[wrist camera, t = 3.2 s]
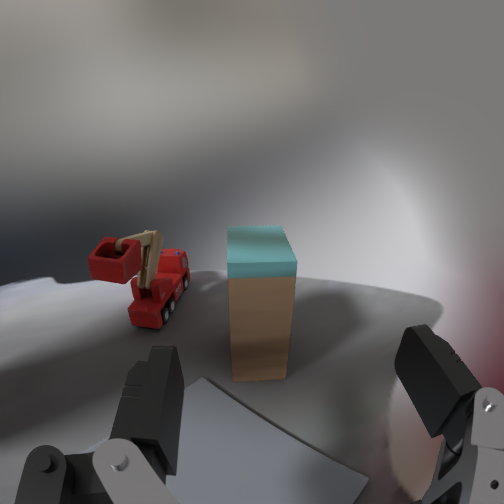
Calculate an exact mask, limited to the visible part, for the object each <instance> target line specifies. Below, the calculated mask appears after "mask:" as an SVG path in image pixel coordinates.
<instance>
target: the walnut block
mask: <svg viewBox="0 0 504 504" xmlns="http://www.w3.org/2000/svg"><path fill="white" fill-rule="evenodd" d="M227 240H228V242H227V244H228V245H227V248H228V249H227V267H228V296H229V320H230V341H231V361H232V379H233V382H243V381H264V380H279V379H286V371H287V363H288V354H289V345H290V336H291V326H292V316H293V306H294V295H295V283H296V271H297V260H296V257H295V255H294V253H293V251H292V248H291V246H290V244H289V242H288V240H287V238H286V235H285V233H284V231H283V229H282V227H281V226H240V227H228V239H227Z"/></svg>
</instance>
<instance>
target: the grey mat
mask: <svg viewBox="0 0 504 504" xmlns="http://www.w3.org/2000/svg"><path fill="white" fill-rule="evenodd" d="M109 437H110V436H108V437H106V438H104V439H103V440H101V441H99V442H97V443H96V444H94V445H92V446H90V447H88V448H87V449H85V450H83V451H81V452H79V453H78V454H82V453H89V452H93V451H95V450H96V449H97V447H98V446H99V445H100V444H102V443H103V442H105V441H107V440H108V439H109ZM369 479H370V478H368V477H366V476H364V475H362V474H360V473H358V472H356V471H354V470H352V469H350V468H347V467H345V466H344V465H342V464H340V463H338V462H336V461H334V460H332V459H330V458H328V457H326V456H324V455H322V454H321V453H319V452H317V451H315V450H313V449H312V448H310V447H308V446H306V445H304V444H303V443H301V442H299V441H298V440H296V439H294V438H292V437H291V436H289V435H287V434H286V433H284V432H283V431H281V430H279V429H278V428H276V427H274V426H273V425H271V424H270V423H268V422H267V421H265V420H263V419H262V418H260V417H259V416H257V415H256V414H254V413H253V412H251V411H250V410H248V409H247V408H245V407H244V406H242V405H241V404H239V403H238V402H237V401H235V400H234V399H232V398H231V397H229V396H228V395H227V394H225V393H224V392H222V391H221V390H220V389H218V388H217V387H215V386H214V385H213V384H211V383H210V382H209V381H207V380H206V379H205V378H203V377H201V378H200V379H198V380H197V381H195V382H194V383H192V384H191V385H189V386H188V387H186V388H185V389H184V399H183V408H182V418H181V428H180V438H179V449H178V460H177V473H176V476H172V475H166V485H165V486H166V487H167V489H168V490H169V491H170V493H171V494H172V495H173V496H174V498H175V499H176V500H177V501H178V502H179V504H353V503H354V501H355V500H356V498H357V497H358V495H359V494H360V493H361V491H362V490H363V488H364V487H365V485H366V484H367V482H368V481H369Z"/></svg>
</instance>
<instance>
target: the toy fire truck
mask: <svg viewBox="0 0 504 504" xmlns="http://www.w3.org/2000/svg"><path fill="white" fill-rule="evenodd" d="M162 243H163V236H162V235H161V234H160V233H159V232H158V231H148V230H145V231H144V233H140V234H137V235H133V236H129V237H125V238H122V239H118V238H113V237H105V238H104V239H103V240H102V241H101V242H100V243H99V244H98V245H97V247H96V248H95V249H94V250H93V251H92V253H91V254H90V255H89V257H88V265H89V271H90V277H91V279H94V280H101V281H108V282H113V283H120V284H126V283H127V282H128V281H129V280H130V279H132V277H133V276H135V275H136V274H137V273H138V277H135V278H133V279H132V280H131V288H132V293H133V297H134V299H135V300H134V301H133V302H132V304H131V305H130V306H129V307H128V312H129V317H130V320H131V324H132V325H136V326H142V327H149V328H156V329H160V328H161V326H162V324H163V322H167V321H168V319H169V312H173V311H174V309H175V303H176V302H177V300H178V299H179V297H180V295H181V294H182V292H183V290H184V289H187V287H188V282H189V281H190V273H189V268H188V259H187V256H186V252H184V251H182V250H179V249H163V250H161V248H162ZM156 272H157V273H156Z"/></svg>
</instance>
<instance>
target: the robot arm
mask: <svg viewBox="0 0 504 504" xmlns="http://www.w3.org/2000/svg"><path fill="white" fill-rule="evenodd" d="M395 370H396V373H397V375H398V377H399V379H400V380H401V382H402V384H403V386H404V387H405V390H406V391H407V393H408V395H409V397H410V399H411V400H412V402H413V404H414V406H415V408H416V410H417V412H418V413H419V415H420V417H421V419H422V421H423V423H424V425H425V427H426V429H427V431H428V433H429V434H430V436H431V438H433V437H436V436H438V435H441V434H443V435H444V437H445V438H444V439H443V441H442V443H441V447H440V451H439V456H438V460H437V464H436V468H435V472H434V475H433V479H432V482H431V485H430V487H429V489H428V490H427V492H426V493H425V495H424V496H423V498H422V500H418V501H416V502H413V503H411V504H504V396H503V395H502V393H501V392H499V391H498V390H496V389H494V388H491V387H484V388H482V386H481V385H480V384H479V382H478V381H477V380H476V378H475V377H474V376H473V374H472V373H471V372H470V370H469V369H468V368H467V366H466V365H465V364H464V362H463V361H461V359H460V357H459V356H458V355H457V354H455V351H454V350H453V349H452V347H451V346H450V345H449V343H448V342H446V341H445V340H443V339H442V338H441V337H439V336H437V335H435V334H434V333H433V331H432V330H431V329H430V328H429V327H428V326H427V325H425V324H424V325H418V326H413V327H408V328H406V330H405V331H404V334H403V337H402V340H401V343H400V346H399V349H398V352H397V355H396V357H395ZM183 399H184V380H183V375H182V371H181V366H180V362H179V358H178V353H177V349H176V347H175V346H153V347H152V349H151V352H150V356H149V359H148V362H147V361H138V362H137V363H136V364H135V365H134V367H133V368H132V369H131V370H130V371H129V373H128V376H127V379H126V382H125V387H124V389H123V392H122V397H121V399H120V403H119V406H118V410H117V413H116V417H115V420H114V424H113V428H112V431H111V435H110V437H109V439H108V440H107V441H105V442H103V443H102V444H100V445H99V446H98V447H97V449H96V450H95V451H93V452H89V453H82V454H71V455H64V454H63V453H62V452H61V451H60V450H59V449H57V448H55V447H53V446H49V445H43V446H39V447H37V448H35V449H33V450H32V451H31V452H30V453H29V455H28V457H27V459H26V462H25V466H24V469H23V473H22V476H21V480H20V484H19V487H18V491H17V496H16V500H15V504H179V502H178V501H177V500H176V499H175V498H174V496H173V495H172V494H171V493H170V491H169V490H168V489H167V487H166V486H165V485H166V475H172V476H176V473H177V460H178V449H179V438H180V428H181V418H182V408H183Z"/></svg>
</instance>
